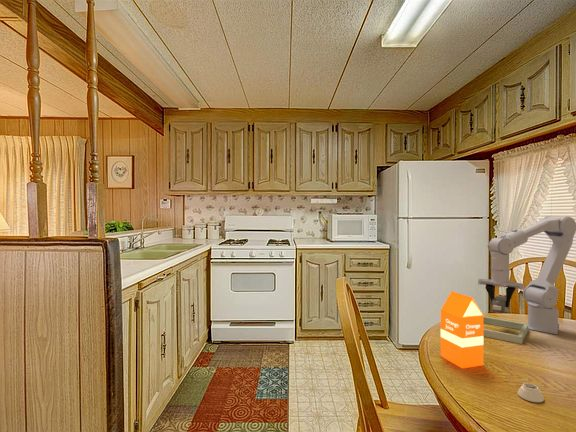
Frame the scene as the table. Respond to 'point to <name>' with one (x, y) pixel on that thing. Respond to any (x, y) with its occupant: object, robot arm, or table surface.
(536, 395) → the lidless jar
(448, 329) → the orange juice
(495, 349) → the table surface
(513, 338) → the sage frame
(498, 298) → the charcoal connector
